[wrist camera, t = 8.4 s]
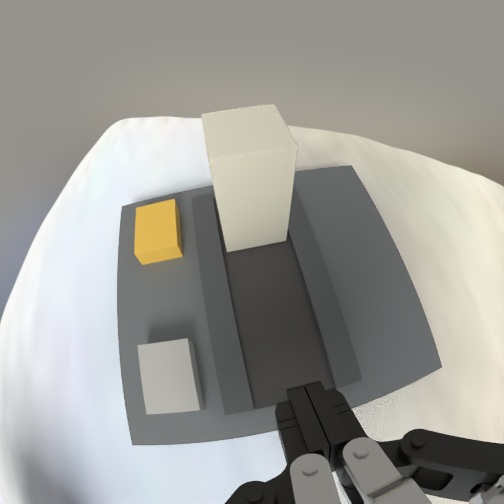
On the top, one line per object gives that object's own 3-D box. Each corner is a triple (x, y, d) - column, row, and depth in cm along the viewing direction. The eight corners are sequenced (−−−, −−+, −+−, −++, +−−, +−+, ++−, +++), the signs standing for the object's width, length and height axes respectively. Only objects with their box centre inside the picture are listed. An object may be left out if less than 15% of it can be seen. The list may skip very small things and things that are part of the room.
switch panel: (346, 180, 24) (355, 152, 21) (427, 371, 15) (454, 363, 12) (130, 220, 23) (115, 194, 20) (145, 441, 14) (121, 447, 11)
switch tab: (271, 196, 21) (274, 104, 14) (286, 240, 19) (297, 145, 12) (218, 206, 20) (201, 114, 13) (226, 252, 18) (208, 159, 11)
